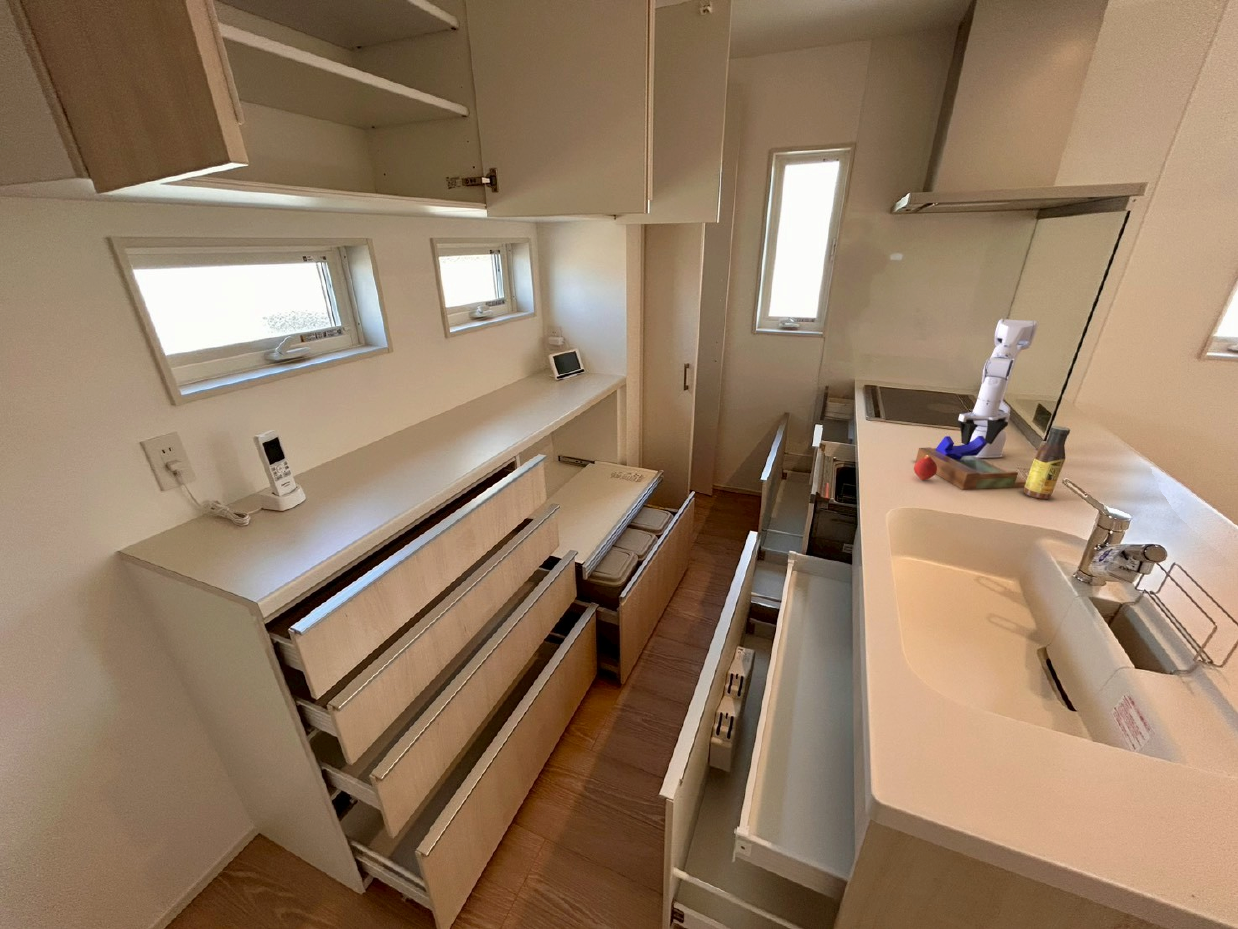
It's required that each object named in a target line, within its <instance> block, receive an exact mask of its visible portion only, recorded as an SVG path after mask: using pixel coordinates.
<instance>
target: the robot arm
mask: <svg viewBox="0 0 1238 929" xmlns="http://www.w3.org/2000/svg"><path fill="white" fill-rule="evenodd" d="M1038 326H1039V321H1038V320H1028V319H1027V320H1024V319H1009V318H1008V319H1007V318H1001V319H999V320H998V322H997V325H996V328H995V332H994V341H993V343H994V346H995V347H994V349H993V351H992V354H991V356H990V357H989V358H986V361H985V363H984V366H983V370H982V377H981V380H980V381H981V382H980V383H981V385H980V388H979V392H978V395H977V399H976V402H975V405H974V408H973V410H972V411H970V412H965V413H959V416H958V419H957V424H958V426H959V430H960V436H961V439H960V441H961V444H962V445H964V444H965V445H968V444H969V443H970V442H971V441H973V440H974V439H975V438H977V437H978V436H983V437H984V438H985V442H987V444H986V446H985V447H984V448H983V449H982V450H981V451H980V452H979V454H978V455H977V456H975V457H977V458H979V459H989V458H990V459H991V458H993V459H994V458H1003V455H1002V453H1003V451H1004V447H1005V443H1006V440H1007V434H1006V432H1005V430H1006V428H1007V427H1008V426H1009V422H1008V421H1009V420H1010V417H1011V414H1010V413H1011V406H1009V405H1008V404H1007V403H1006V402H1005V401H1004V399H1005V396H1006V392H1007V389H1008V387H1009V383H1010V380H1011V377H1012V374H1013V372H1014V369H1015V364H1016V361H1017V358H1018V356H1019V355H1020V353H1021V352H1022V351H1023V350H1027V349H1030V346H1032V344H1033V341H1034V338H1035V336H1036V332H1037V330H1038Z"/></svg>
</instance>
